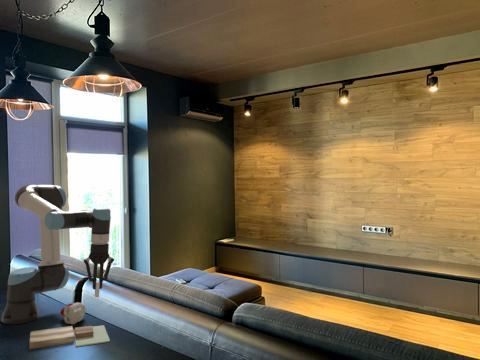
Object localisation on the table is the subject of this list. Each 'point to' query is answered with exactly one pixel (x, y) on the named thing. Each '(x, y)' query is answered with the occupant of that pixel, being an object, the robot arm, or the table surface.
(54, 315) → the table surface
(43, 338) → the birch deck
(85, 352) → the table surface
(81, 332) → the walnut tile
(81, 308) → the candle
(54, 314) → the table surface
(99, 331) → the sage mat
